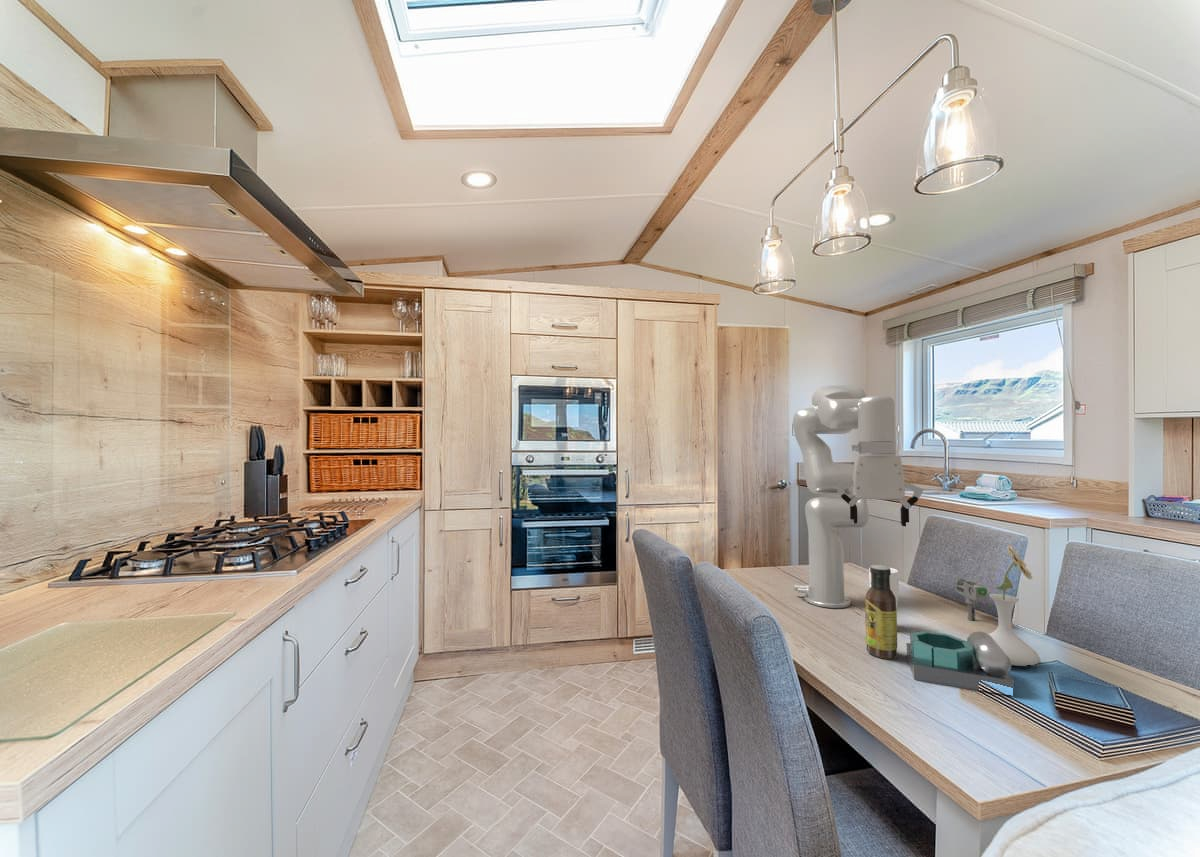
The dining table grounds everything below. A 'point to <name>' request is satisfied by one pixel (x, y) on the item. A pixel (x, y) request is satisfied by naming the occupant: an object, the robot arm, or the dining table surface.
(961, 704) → the dining table surface
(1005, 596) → the flower in vase
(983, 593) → the mechanical component
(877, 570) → the sauce bottle
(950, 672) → the base
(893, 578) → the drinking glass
